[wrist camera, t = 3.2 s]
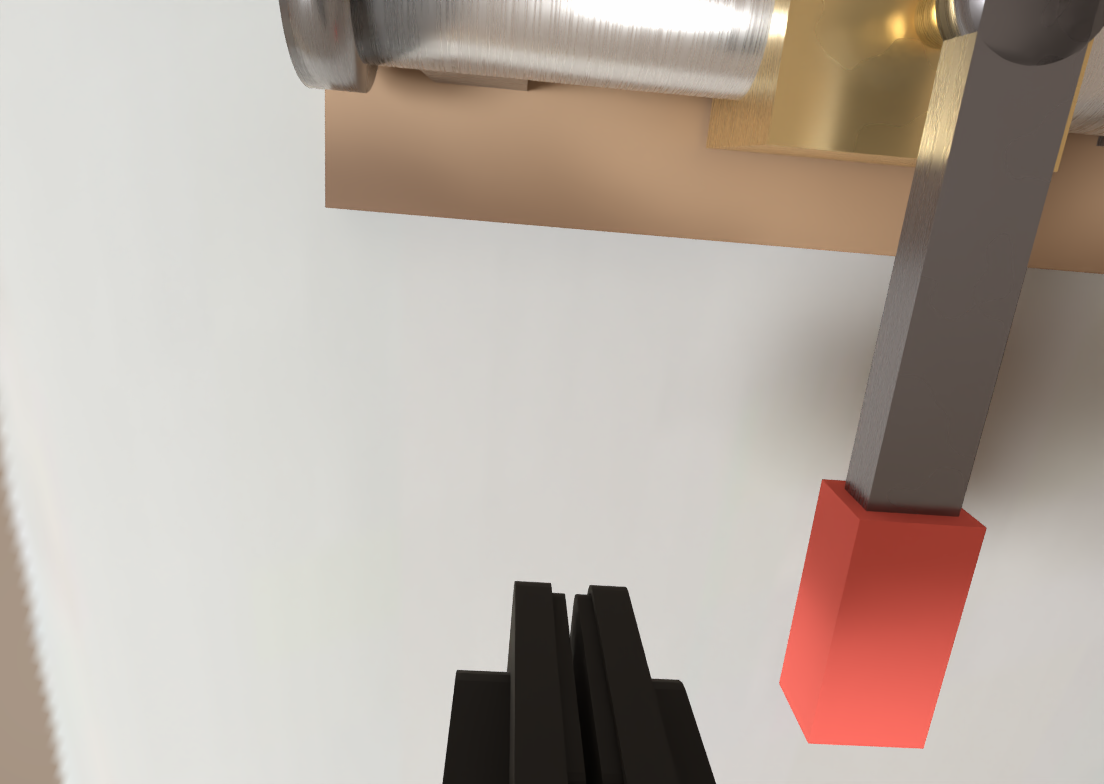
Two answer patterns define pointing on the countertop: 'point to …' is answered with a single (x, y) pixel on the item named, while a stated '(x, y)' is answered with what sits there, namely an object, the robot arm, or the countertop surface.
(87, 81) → the countertop surface
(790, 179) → the valve board
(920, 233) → the valve lever
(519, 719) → the robot arm
